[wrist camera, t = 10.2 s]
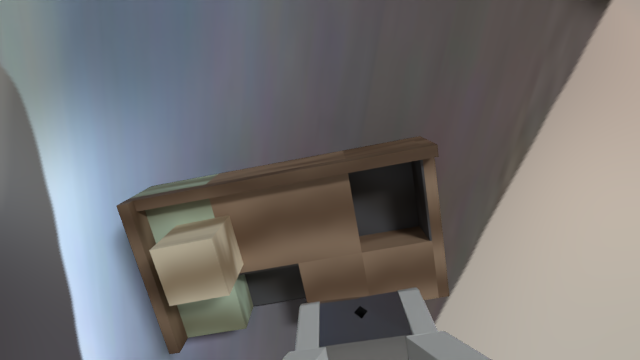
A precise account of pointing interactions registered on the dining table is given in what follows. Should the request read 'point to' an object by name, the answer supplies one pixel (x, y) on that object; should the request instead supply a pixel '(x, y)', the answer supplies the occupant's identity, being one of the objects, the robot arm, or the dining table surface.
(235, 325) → the board
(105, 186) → the dining table surface
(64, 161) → the dining table surface
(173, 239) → the maple block
